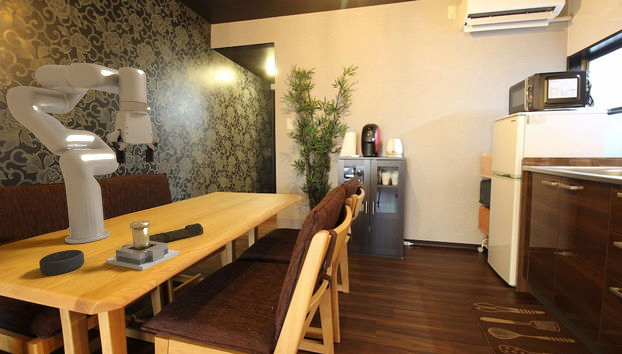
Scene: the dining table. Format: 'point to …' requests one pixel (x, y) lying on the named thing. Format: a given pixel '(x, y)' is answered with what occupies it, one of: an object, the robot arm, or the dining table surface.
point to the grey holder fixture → (142, 253)
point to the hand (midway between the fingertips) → (136, 162)
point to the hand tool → (178, 233)
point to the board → (146, 265)
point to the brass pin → (140, 234)
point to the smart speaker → (61, 262)
